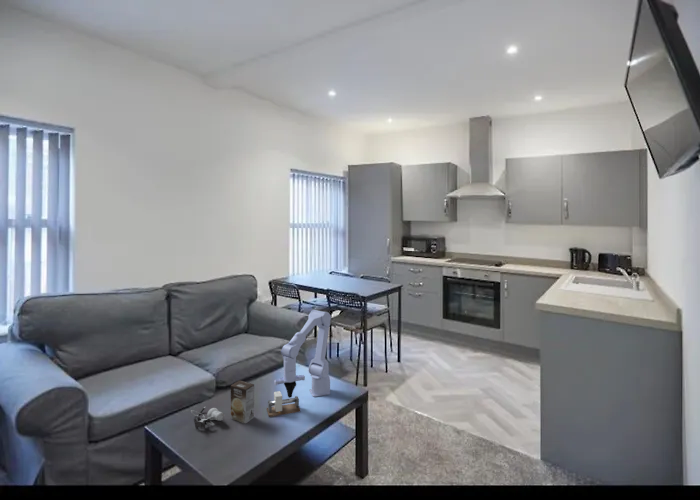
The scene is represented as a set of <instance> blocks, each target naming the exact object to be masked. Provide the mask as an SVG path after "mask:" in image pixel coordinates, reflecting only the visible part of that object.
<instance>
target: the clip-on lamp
mask: <svg viewBox="0 0 700 500" xmlns="http://www.w3.org/2000/svg"><path fill="white" fill-rule="evenodd" d="M205 409H206V406H204V407H202V408H201V409H200V410H199V412H198V411H196V410H193V409H191V410H190V412H191V414H192V415H194V417H195V416H196V418H194V419H193V422H194V427H195V429H196V428H197V429H200V428H201V429H205V428H206V426H210V425H211V426H215V423H214V422H212V421H214V420H215V421H219V422H220V421H222V420H223V419H224V418H225V413H223V411H220V410H219V409H218V408H216V407H212V408H209V410H208V411H207V418H206V416H205V414H203V411H204V410H205ZM194 412H195V413H197V414H194ZM200 415H202V416H201V417H202V418H201V417H200Z"/></svg>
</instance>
